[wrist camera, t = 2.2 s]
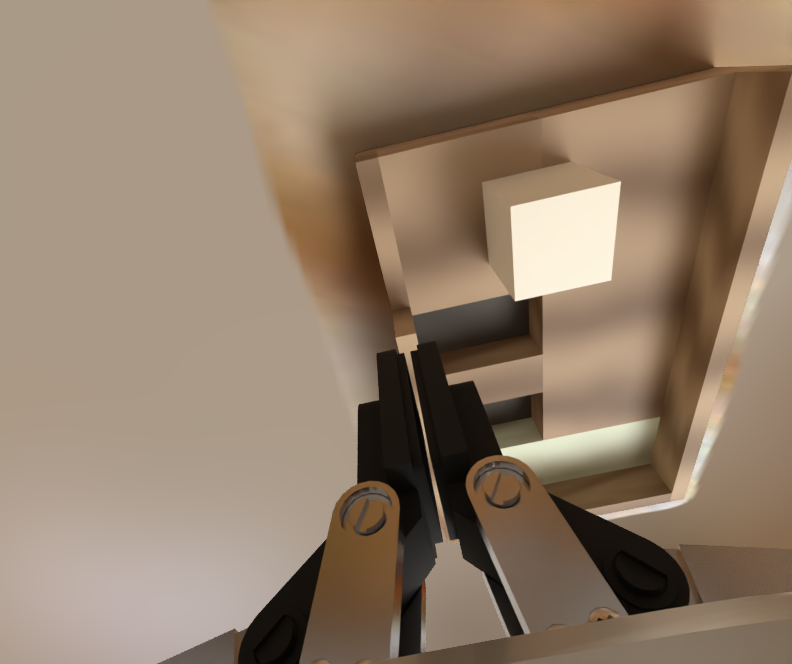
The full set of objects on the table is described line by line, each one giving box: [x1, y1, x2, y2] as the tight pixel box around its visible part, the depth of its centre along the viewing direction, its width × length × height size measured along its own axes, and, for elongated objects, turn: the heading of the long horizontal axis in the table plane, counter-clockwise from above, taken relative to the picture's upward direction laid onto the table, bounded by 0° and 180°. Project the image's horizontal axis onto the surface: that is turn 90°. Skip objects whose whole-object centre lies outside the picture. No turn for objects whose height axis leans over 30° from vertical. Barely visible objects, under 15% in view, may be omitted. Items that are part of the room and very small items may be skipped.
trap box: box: [355, 65, 792, 544], centre depth 24 cm, size 26×17×5 cm, turn 12°
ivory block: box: [482, 162, 621, 301], centre depth 17 cm, size 4×4×4 cm
